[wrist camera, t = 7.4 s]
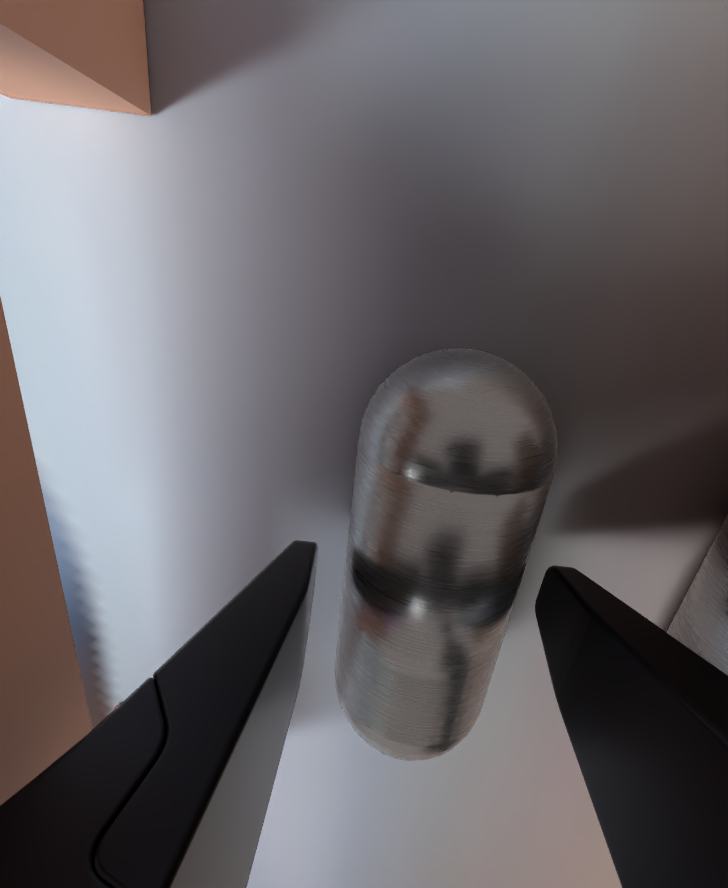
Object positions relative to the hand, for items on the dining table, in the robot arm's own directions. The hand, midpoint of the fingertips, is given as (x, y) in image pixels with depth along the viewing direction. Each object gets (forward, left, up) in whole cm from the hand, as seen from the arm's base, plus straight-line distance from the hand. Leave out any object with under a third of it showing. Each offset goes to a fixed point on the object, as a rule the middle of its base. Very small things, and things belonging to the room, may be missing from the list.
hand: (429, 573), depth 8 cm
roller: (0, 0, -2) cm, 2 cm away
